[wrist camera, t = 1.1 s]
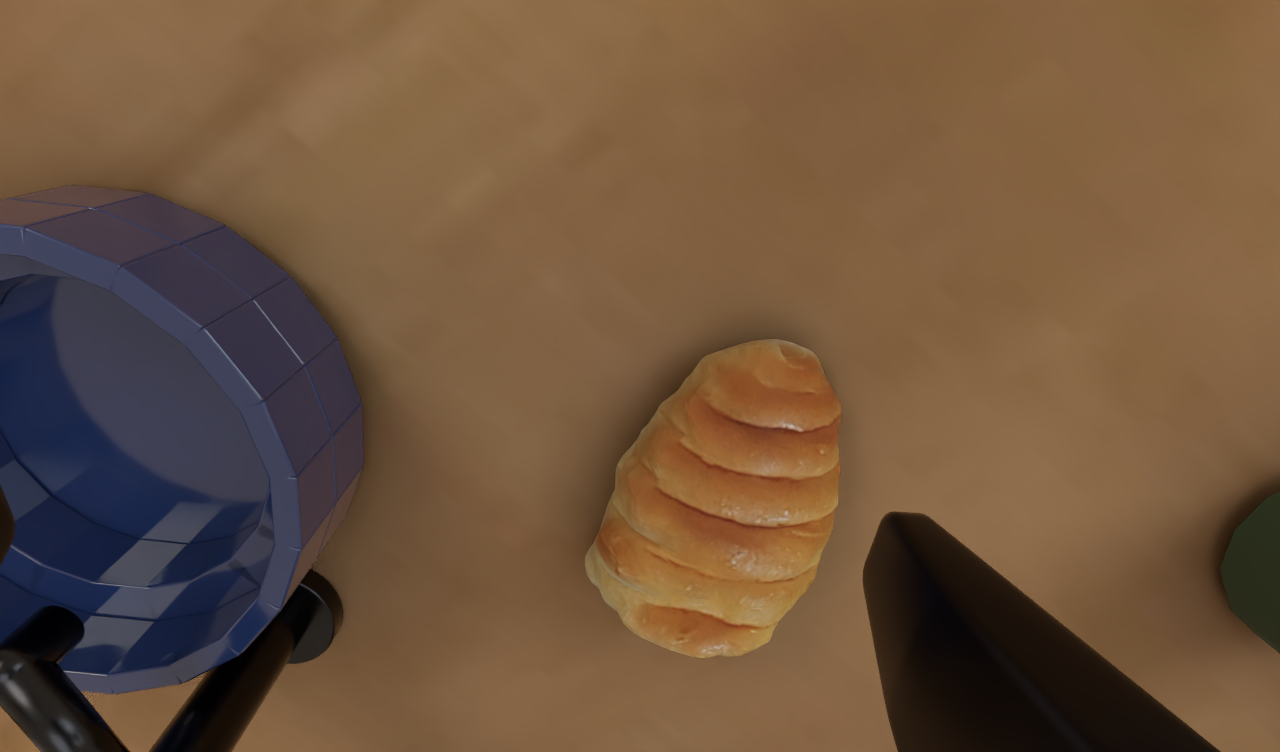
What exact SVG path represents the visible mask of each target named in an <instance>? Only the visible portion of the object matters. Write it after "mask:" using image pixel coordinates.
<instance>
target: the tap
mask: <svg viewBox="0 0 1280 752" xmlns="http://www.w3.org/2000/svg"><path fill="white" fill-rule="evenodd" d="M342 618H343V610H342V604H341V601H340V598H339V596H338V594H337V592H336V591H335V590H334V588H333V587H332V586H331V584H330V583H329V582H328V581H327V580H325V579H324V578H323V577H322V576H320V575H319V574H318V573H316V572H314V571H312V570H311V569H309V571H308V572H307V574H306V575H305V577H304V578H303V579H302V581H301V582H300V584H299V585H298V587H297V588H296V590H295V591H294V592H293V594H292V595H291V597H290V598H289V600H288V601H287V603H286V604H285V606H284V607H283V608H282V610H281V611H280V612H279V613H278V614H277V616H276V617H275V618H274V619H273V620H272V621H271V622H270V623H269V624H268V626H267V627H266V628H265V629H264V630H263V631H262V632H261V633H260V634H259V636H258V637H257V638H256V639H255V640H254V641H253V642H252V643H251V644H250V646H249V647H248V648H247V649H246V650H245V651H244V652H243V653H241V654H240V655H239V656H237V657H235V658H233V659H231V660H229V661H227V662H225V663H223V664H221V665H219V666H217V667H215V668H213V669H211V670H209V671H208V672H207V673H206V675H205V676H204V677H203V679H202V680H201V681H200V683H199V684H198V685H197V687H196V688H195V690H194V691H193V692H192V694H191V695H190V696H189V698H188V699H187V700H186V702H185V703H184V704H183V706H182V707H181V708H180V710H179V711H178V713H177V714H176V715H175V717H174V718H173V719H172V721H171V722H170V723H169V725H168V726H167V727H166V729H165V730H164V731H163V733H162V734H161V735H160V737H159V738H158V740H157V741H156V742H155V744H154V745H153V746H152V748H151V749H150V750H149V752H232V751H233V749H234V747H235V746H236V744H237V743H238V741H239V739H240V738H241V736H242V734H243V733H244V731H245V730H246V728H247V726H248V725H249V723H250V722H251V720H252V718H253V717H254V715H255V714H256V712H257V710H258V709H259V707H260V705H261V704H262V702H263V701H264V699H265V697H266V696H267V694H268V693H269V691H270V689H271V688H272V686H273V684H274V683H275V681H276V680H277V678H278V676H279V675H280V673H281V672H282V670H283V668H284V667H285V665H286V664H297V663H303V662H307V661H310V660H312V659H314V658H316V657H318V656H320V655H321V654H322V653H324V652H325V651H326V650H327V649H328V647H329V646H330V644H331V643H332V641H333V639H334V638H335V636H336V634H337V632H338V630H339V628H340V626H341V623H342ZM84 634H85V628H84V624H83V622H82V621H81V619H80V618H79V617H78V616H77V615H76V614H75V613H74V612H72V611H71V610H69V609H67V608H64V607H61V606H56V605H49V606H45V607H42V608H40V609H38V610H37V611H36V612H35V613H34V614H32V615H31V616H30V617H29V618H28V619H27V620H26V621H25V622H23V623H22V624H21V625H20V626H19V627H18V628H17V629H16V630H14V631H13V632H12V633H11V634H10V635H9V636H8V637H6V638H5V639H4V640H3V641H2V642H1V643H0V706H1V707H2V708H3V709H4V710H5V712H6V713H7V714H8V715H9V716H10V717H11V718H12V719H13V721H14V722H15V723H16V724H17V725H18V726H19V727H20V729H21V730H22V731H23V732H24V733H25V734H26V735H27V736H28V738H29V739H30V740H31V741H32V742H33V743H34V744H35V746H36V747H37V748H38V749H39V750H40V751H41V752H130V751H129V750H128V748H127V747H126V746H125V745H124V744H123V742H122V741H121V740H120V739H119V737H118V736H117V735H116V734H115V733H114V731H113V730H112V729H111V728H110V727H109V725H108V724H107V723H106V722H105V721H104V719H103V718H102V717H101V716H100V715H99V713H98V712H97V711H96V710H95V708H94V707H93V706H92V705H91V704H90V702H89V701H88V700H87V699H86V698H85V696H84V695H83V694H82V693H81V692H80V690H79V689H78V688H77V687H76V686H75V684H74V683H73V682H72V681H71V679H70V678H69V677H68V676H67V675H66V673H65V672H64V671H63V670H62V669H61V667H60V666H59V665H58V664H59V663H60V662H61V661H62V660H63V659H64V658H65V657H66V656H67V655H68V654H69V653H70V652H71V651H72V650H73V649H74V648H75V647H76V646H77V645H78V644H79V643H80V642H81V641H82V639H83V637H84Z"/></svg>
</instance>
